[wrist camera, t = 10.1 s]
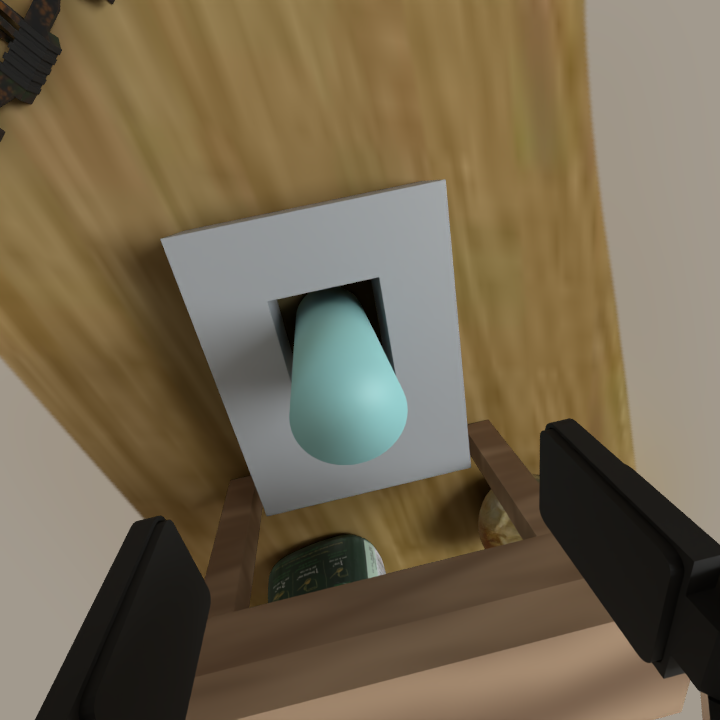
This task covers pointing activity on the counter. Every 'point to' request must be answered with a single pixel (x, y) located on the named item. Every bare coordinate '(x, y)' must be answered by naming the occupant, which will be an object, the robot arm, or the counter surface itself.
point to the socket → (316, 272)
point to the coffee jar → (324, 567)
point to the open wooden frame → (424, 631)
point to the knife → (28, 51)
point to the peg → (342, 382)
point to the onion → (496, 522)
